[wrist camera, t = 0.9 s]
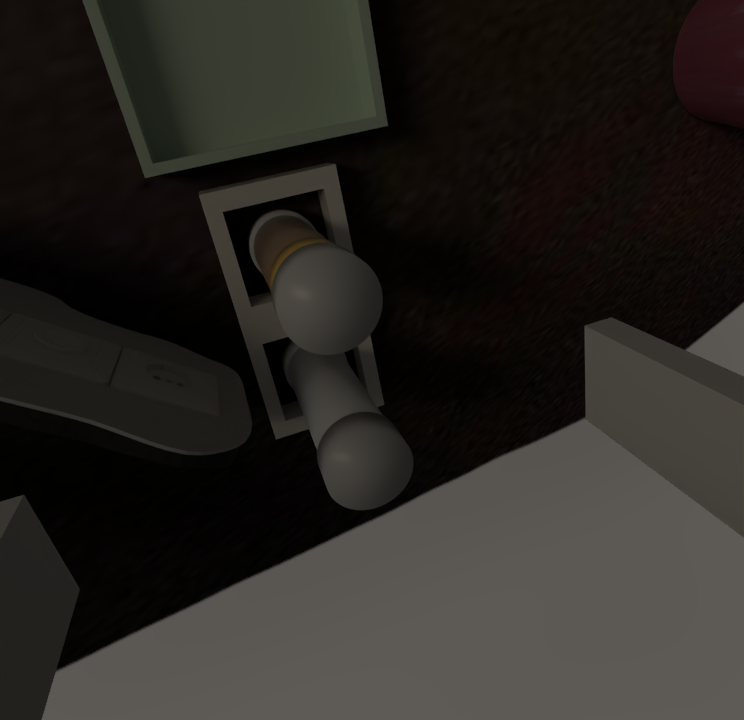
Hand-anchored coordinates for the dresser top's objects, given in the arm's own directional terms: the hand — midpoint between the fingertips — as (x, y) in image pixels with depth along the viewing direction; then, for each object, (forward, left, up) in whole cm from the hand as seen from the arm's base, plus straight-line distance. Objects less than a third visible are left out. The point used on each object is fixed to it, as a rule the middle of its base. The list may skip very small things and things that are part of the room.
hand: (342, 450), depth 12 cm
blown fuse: (+2, 0, -25) cm, 25 cm away
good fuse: (+2, -9, -25) cm, 27 cm away
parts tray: (+3, +13, -25) cm, 28 cm away
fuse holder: (+2, -4, -25) cm, 26 cm away
